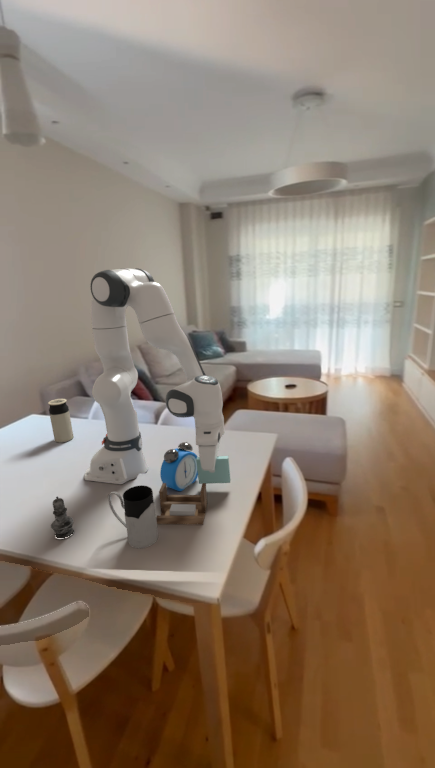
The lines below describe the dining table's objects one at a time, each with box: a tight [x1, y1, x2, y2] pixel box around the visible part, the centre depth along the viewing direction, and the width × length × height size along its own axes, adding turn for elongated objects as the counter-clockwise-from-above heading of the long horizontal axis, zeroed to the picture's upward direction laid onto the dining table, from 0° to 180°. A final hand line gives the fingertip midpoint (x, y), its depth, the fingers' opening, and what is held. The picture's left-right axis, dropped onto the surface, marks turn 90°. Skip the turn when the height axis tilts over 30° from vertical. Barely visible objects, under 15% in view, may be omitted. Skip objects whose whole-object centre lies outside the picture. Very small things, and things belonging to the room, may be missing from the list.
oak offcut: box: [165, 509, 198, 516], centre depth 108 cm, size 9×3×2 cm, turn 84°
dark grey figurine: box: [50, 496, 75, 538], centre depth 104 cm, size 6×6×12 cm
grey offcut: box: [169, 504, 196, 516], centre depth 107 cm, size 7×3×2 cm, turn 84°
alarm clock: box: [159, 441, 198, 492], centre depth 124 cm, size 13×6×15 cm, turn 143°
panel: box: [196, 455, 232, 485], centre depth 119 cm, size 10×2×8 cm, turn 84°
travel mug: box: [47, 398, 74, 443], centre depth 167 cm, size 8×8×18 cm
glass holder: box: [107, 485, 159, 549], centre depth 100 cm, size 9×14×15 cm, turn 66°
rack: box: [156, 482, 208, 525], centre depth 109 cm, size 13×10×8 cm
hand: (212, 468), depth 119 cm, fingers closed on panel, 2 cm apart
